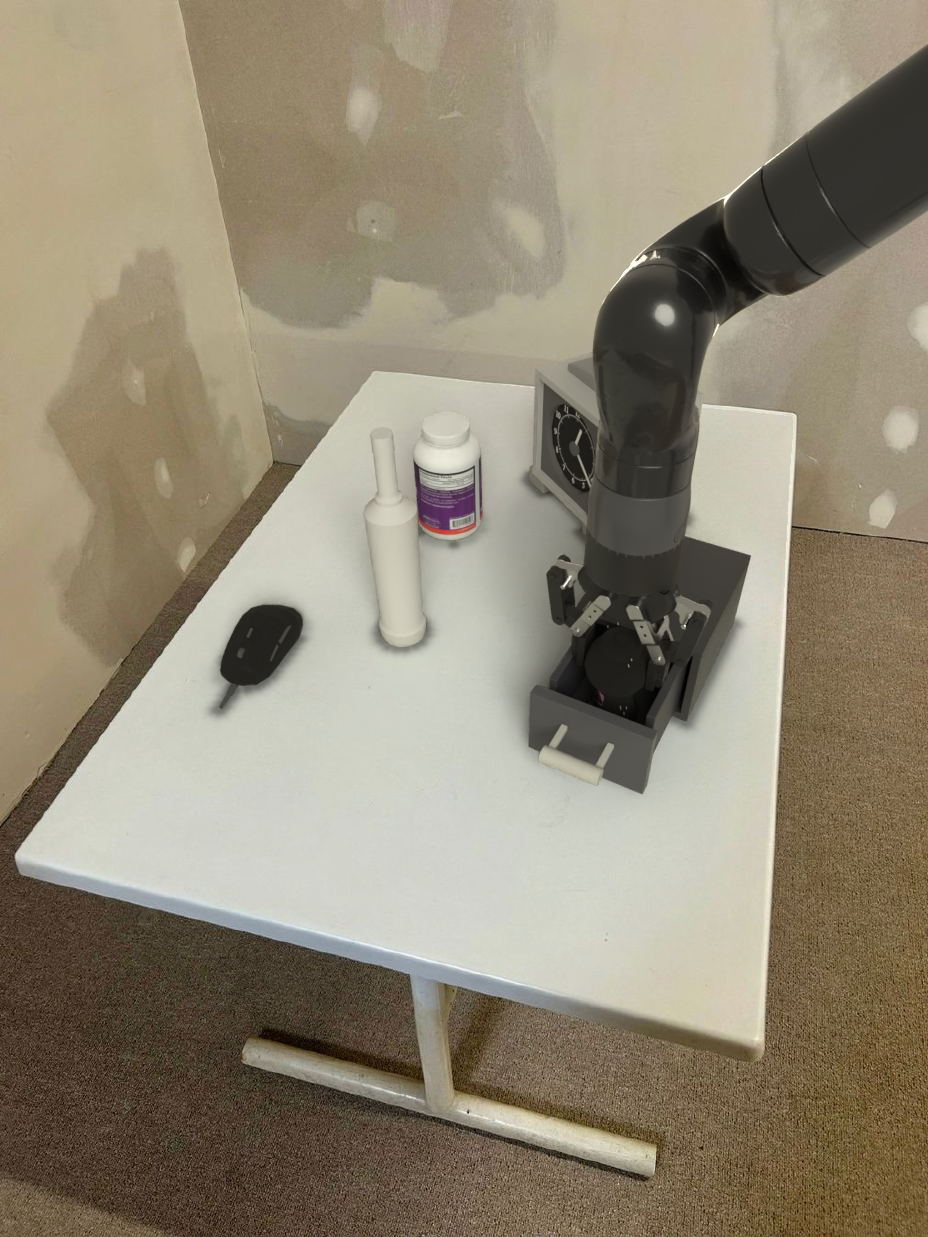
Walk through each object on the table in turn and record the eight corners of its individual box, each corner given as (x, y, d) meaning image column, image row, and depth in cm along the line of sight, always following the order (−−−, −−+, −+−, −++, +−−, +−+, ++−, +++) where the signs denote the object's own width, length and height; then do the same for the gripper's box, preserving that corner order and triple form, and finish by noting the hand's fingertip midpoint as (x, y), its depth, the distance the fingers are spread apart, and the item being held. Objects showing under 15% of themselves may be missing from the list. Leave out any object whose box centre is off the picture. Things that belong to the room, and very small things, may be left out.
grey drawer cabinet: (686, 721, 84) (702, 653, 78) (568, 677, 89) (573, 609, 82) (733, 623, 94) (751, 555, 87) (624, 587, 99) (633, 520, 92)
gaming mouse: (194, 702, 88) (184, 675, 85) (263, 607, 98) (256, 580, 95) (248, 716, 87) (240, 689, 84) (313, 618, 97) (308, 591, 94)
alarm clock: (525, 476, 115) (528, 347, 103) (608, 449, 119) (620, 322, 107) (602, 552, 103) (616, 417, 91) (691, 519, 107) (716, 386, 95)
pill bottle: (438, 498, 112) (432, 399, 102) (493, 515, 109) (493, 414, 99) (406, 533, 107) (396, 432, 97) (463, 551, 104) (459, 449, 94)
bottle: (389, 612, 97) (364, 415, 80) (433, 619, 96) (417, 421, 79) (373, 644, 93) (344, 445, 76) (419, 652, 92) (399, 452, 75)
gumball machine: (569, 691, 83) (575, 616, 76) (627, 679, 84) (638, 604, 77) (592, 745, 79) (600, 669, 72) (654, 732, 79) (668, 656, 72)
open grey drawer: (624, 832, 75) (633, 779, 69) (506, 781, 79) (507, 727, 73) (694, 687, 86) (707, 632, 81) (589, 649, 91) (594, 594, 85)
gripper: (744, 520, 66) (708, 671, 77) (570, 472, 71) (561, 620, 83) (713, 577, 61) (680, 729, 72) (530, 522, 66) (526, 671, 78)
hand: (617, 671), depth 77 cm, fingers closed on gumball machine, 6 cm apart
